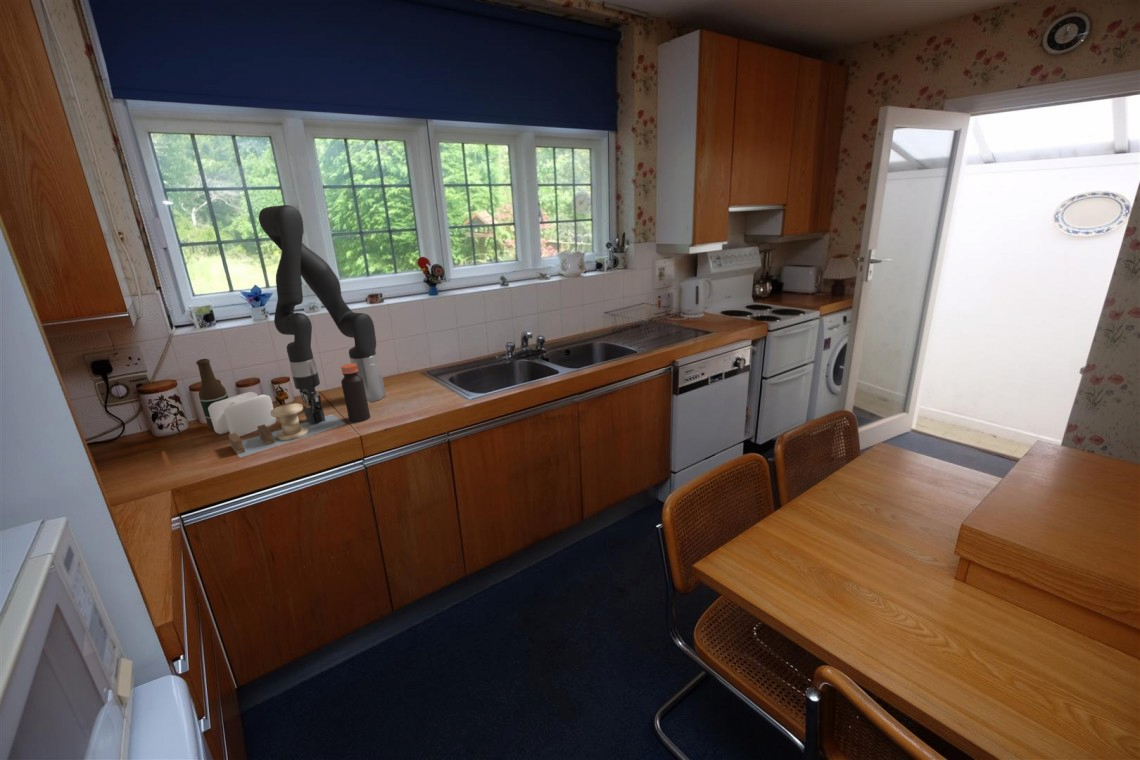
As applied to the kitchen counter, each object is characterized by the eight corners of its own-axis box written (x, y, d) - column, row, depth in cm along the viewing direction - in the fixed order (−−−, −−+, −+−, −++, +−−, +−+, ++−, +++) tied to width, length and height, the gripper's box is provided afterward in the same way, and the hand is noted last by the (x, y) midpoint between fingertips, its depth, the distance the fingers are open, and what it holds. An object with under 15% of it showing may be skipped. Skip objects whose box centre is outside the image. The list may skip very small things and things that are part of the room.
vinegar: (371, 415, 174) (361, 361, 167) (370, 423, 168) (358, 367, 161) (351, 419, 172) (339, 364, 166) (348, 426, 166) (336, 369, 159)
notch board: (267, 435, 160) (264, 424, 158) (274, 442, 154) (271, 431, 153) (231, 446, 153) (227, 434, 152) (237, 454, 148) (233, 442, 146)
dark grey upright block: (320, 417, 172) (316, 399, 170) (325, 420, 169) (321, 402, 167) (307, 421, 169) (302, 403, 167) (311, 424, 166) (307, 406, 164)
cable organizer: (232, 442, 158) (221, 409, 154) (215, 436, 164) (205, 404, 160) (278, 425, 170) (270, 393, 166) (261, 419, 176) (253, 389, 172)
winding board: (332, 416, 175) (332, 414, 175) (346, 426, 166) (346, 423, 166) (230, 447, 155) (229, 444, 154) (240, 460, 146) (239, 457, 146)
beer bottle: (220, 421, 176) (200, 356, 168) (240, 421, 175) (221, 356, 167) (203, 431, 169) (181, 363, 161) (225, 430, 168) (204, 362, 160)
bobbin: (303, 426, 165) (297, 401, 162) (312, 433, 159) (306, 407, 156) (273, 435, 159) (266, 409, 157) (282, 443, 153) (275, 416, 150)
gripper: (324, 374, 161) (335, 422, 167) (309, 366, 171) (320, 411, 177) (299, 380, 156) (311, 429, 162) (285, 371, 166) (297, 418, 172)
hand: (315, 419), depth 169 cm, fingers closed on dark grey upright block, 4 cm apart
